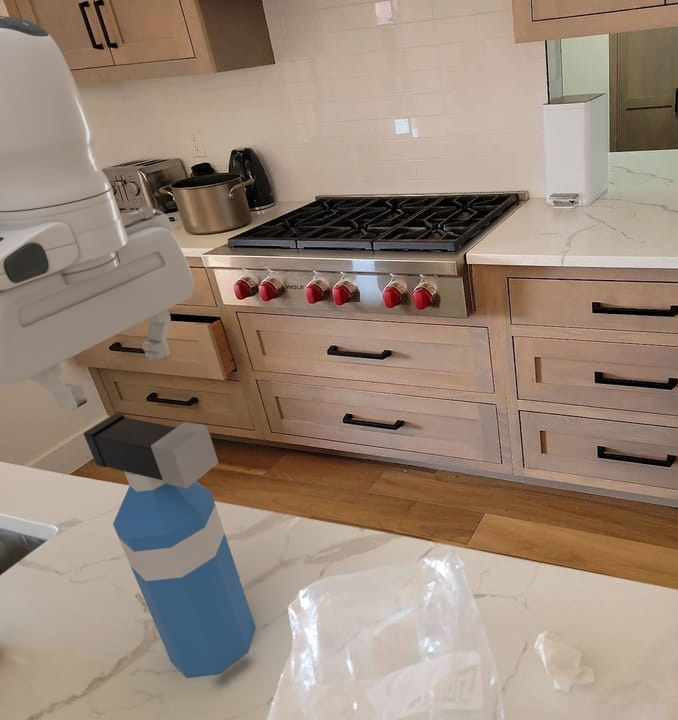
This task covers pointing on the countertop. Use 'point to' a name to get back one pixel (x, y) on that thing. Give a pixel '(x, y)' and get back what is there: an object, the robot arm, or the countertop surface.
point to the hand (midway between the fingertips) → (119, 380)
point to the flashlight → (153, 449)
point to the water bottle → (185, 573)
